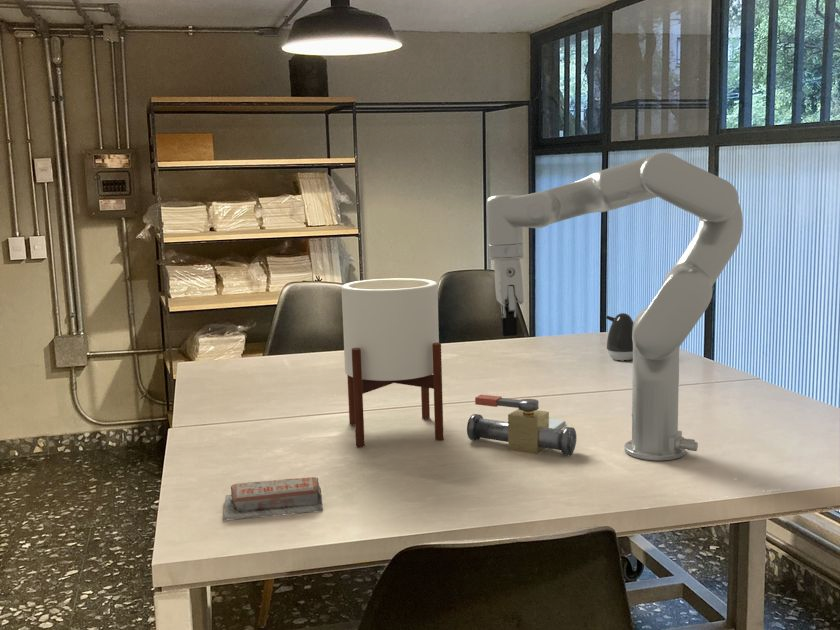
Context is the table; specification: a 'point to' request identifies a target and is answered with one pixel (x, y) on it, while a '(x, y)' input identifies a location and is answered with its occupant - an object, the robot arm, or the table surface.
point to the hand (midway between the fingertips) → (509, 335)
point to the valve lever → (507, 402)
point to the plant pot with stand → (392, 343)
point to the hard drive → (556, 423)
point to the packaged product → (273, 498)
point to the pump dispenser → (620, 337)
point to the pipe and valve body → (524, 432)
